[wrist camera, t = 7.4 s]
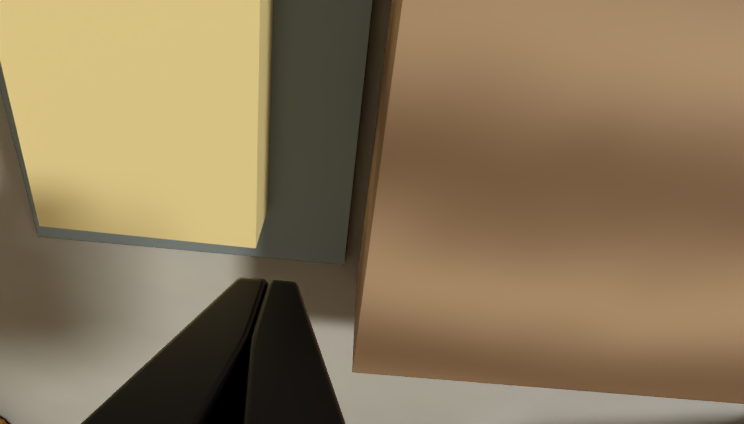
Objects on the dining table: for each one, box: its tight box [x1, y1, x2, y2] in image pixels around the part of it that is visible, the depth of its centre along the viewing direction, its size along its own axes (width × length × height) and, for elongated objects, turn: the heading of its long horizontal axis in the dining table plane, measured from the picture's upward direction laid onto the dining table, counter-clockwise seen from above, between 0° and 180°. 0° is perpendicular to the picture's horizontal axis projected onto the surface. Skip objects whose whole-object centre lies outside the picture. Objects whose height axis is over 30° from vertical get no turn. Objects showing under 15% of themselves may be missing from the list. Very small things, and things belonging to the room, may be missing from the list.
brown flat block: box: [352, 0, 744, 404], centre depth 15 cm, size 14×16×4 cm
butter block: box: [0, 0, 273, 248], centre depth 14 cm, size 9×6×2 cm, turn 173°
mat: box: [0, 0, 372, 265], centre depth 16 cm, size 12×10×1 cm
